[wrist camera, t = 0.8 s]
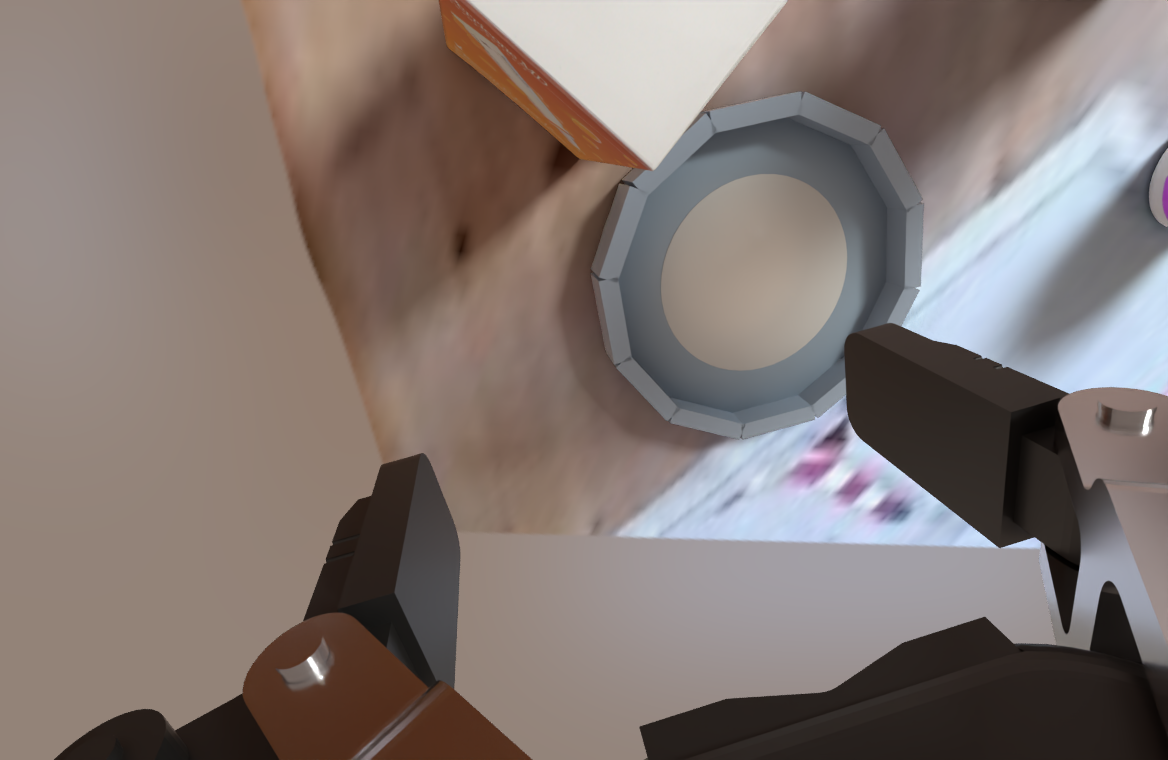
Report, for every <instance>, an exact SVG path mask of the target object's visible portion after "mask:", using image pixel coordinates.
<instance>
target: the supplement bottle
mask: <svg viewBox="0 0 1168 760" xmlns="http://www.w3.org/2000/svg"><path fill="white" fill-rule="evenodd" d="M1149 204H1150V208H1151V211H1152V213H1153V215H1154V217H1155V218H1156V219H1157V221H1158V222H1159V223H1161V224H1162V225H1164V226H1166V227H1168V148H1167V150H1166V151H1165V152H1164V154H1163V156H1162V157H1161V159H1160V160H1159V162H1158V164H1157V166H1156V168H1155V171H1154V173H1153V176H1152V179H1151V183H1150V188H1149Z"/></svg>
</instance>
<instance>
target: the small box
mask: <svg viewBox="0 0 1168 760" xmlns="http://www.w3.org/2000/svg"><path fill="white" fill-rule="evenodd" d="M787 1H788V0H439V4H440V11H441V16H442V23H443V29H444V33H445V40H446V45H447V47H448V48H449V49H450V50H451V51H453V52H454V53H455V54H457V55H458V56H459V57H460V58H462V59H463V60H464V61H466V62H467V63H468V64H469V65H471V66H472V67H473V68H474V69H476V70H477V71H478V72H479V73H480V74H482V75H483V76H484V77H485V78H486V79H488V80H489V81H490V82H491V83H492V84H493V85H495V86H496V87H497V88H498V89H499V90H500V91H502V92H503V93H504V94H505V95H506V96H508V97H509V98H510V99H511V100H512V101H514V102H515V103H516V104H517V105H518V106H519V107H521V108H522V109H523V110H524V111H525V112H526V113H528V114H529V115H530V116H531V117H532V118H533V119H534V120H536V121H537V122H538V123H539V124H540V125H541V126H542V127H544V128H545V129H546V130H547V131H548V132H549V133H550V134H552V135H553V136H554V137H555V138H556V139H557V140H558V141H559V142H561V143H562V144H563V145H564V146H565V147H566V148H567V149H569V150H570V151H571V152H572V153H573V154H574V155H575V156H576V157H578V158H579V159H583V160H590V161H596V162H601V163H608V164H614V165H620V166H626V167H632V168H638V169H644V170H650V171H654V170H655V169H656V168H657V167H658V166H659V164H660V163H661V162H662V160H663V159H664V158H665V157H666V155H667V154H668V153H669V151H670V150H671V149H672V148H673V146H674V145H675V144H676V143H677V141H678V140H679V139H680V137H681V136H682V135H683V134H684V132H685V131H686V130H687V129H688V127H689V126H690V125H691V123H692V122H693V121H694V120H695V118H696V117H697V116H698V115H699V113H700V112H701V111H702V109H703V108H704V107H705V106H706V104H707V103H708V102H709V101H710V99H711V98H712V97H713V95H714V94H715V93H716V92H717V90H718V89H719V88H720V87H721V85H722V84H723V83H724V81H725V80H726V79H727V78H728V76H729V75H730V74H731V72H732V71H733V70H734V69H735V67H736V66H737V65H738V64H739V62H740V61H741V60H742V58H743V57H744V56H745V55H746V53H747V52H748V51H749V50H750V48H751V47H752V46H753V44H754V43H755V42H756V41H757V39H758V38H759V37H760V36H761V34H762V33H763V32H764V31H765V29H766V28H767V27H768V25H769V24H770V23H771V22H772V20H773V19H774V18H775V17H776V15H777V14H778V13H779V12H780V10H781V9H782V8H783V6H784V5H785V4H786V3H787Z"/></svg>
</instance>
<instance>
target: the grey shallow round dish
mask: <svg viewBox="0 0 1168 760" xmlns="http://www.w3.org/2000/svg"><path fill="white" fill-rule="evenodd" d="M880 128H881V125H879V124H876V123H874V122H872V121H870V120H867V119H865V118H863V117H861V116H858V115H856V114H854V113H852V112H850V111H847V110H845V109H843V108H841V107H838V106H836V105H834V104H832V103H830V102H827V101H825V100H823V99H821V98H818V97H816V96H814V95H812V94H810V93H807V92H801V91H799V92H793V93H787V94H781V95H776V96H771V97H767V98H762V99H757V100H753V101H748V102H744V103H739V104H734V105H730V106H725V107H721V108H716V109H711V110H707V111H702V112H700V113H699V115H698V116H697V117H696V118H695V120H694V121H693V122H692V123H691V125H690V126H689V127H688V129H687V130H686V131H685V132H684V134H683V135H682V136H681V137H680V139H679V140H678V141H677V143H676V144H675V145H674V146H673V148H672V149H671V150H670V151H669V153H668V154H667V155H666V157H665V158H664V159H663V160H662V162H661V163H660V164H659V166H658V167H657V168H656V169H655V170H654V171H650V170H644V169H638V168H633V169H632V170H631V171H630V172H629V173H628V174H627V175H626V176H625V177H624V178H623V179H622V181H623V182H624V183H625V184H620V183H619V186H618V189H617V192H616V195H615V198H614V201H613V204H612V207H611V210H610V213H609V215H608V218H607V220H606V223H605V225H604V228H603V232H602V235H601V239H600V243H599V246H598V249H597V252H596V255H595V258H594V261H593V264H592V267H591V270H592V271H593V273H590V274H591V279H592V284H593V289H594V294H595V299H596V305H597V312H598V316H599V320H600V325H601V330H602V335H603V341H604V346H605V351H606V353H607V355H608V356H609V358H610V359H611V361H612V362H613V364H614V365H615V367H616V368H617V369H618V370H619V371H620V372H621V374H622V375H623V376H624V377H625V378H626V379H627V380H628V381H629V382H630V383H631V384H632V385H633V386H634V387H635V388H636V389H637V390H638V391H639V392H640V394H641V395H642V396H643V397H644V398H645V399H646V400H647V401H648V402H649V403H650V404H651V405H652V406H653V407H654V408H655V409H656V410H657V411H658V413H659V414H660V415H661V416H662V417H663V418H664V419H665V420H666V421H669V423H672V424H676V425H680V426H684V427H688V428H693V429H697V430H701V431H705V432H709V433H714V434H718V435H722V436H726V437H730V438H734V439H740V437H741V438H742V439H746V438H750V437H754V436H757V435H761V434H765V433H768V432H772V431H776V430H779V429H783V428H787V427H790V426H794V425H798V424H801V423H805V422H809V421H812V420H815V416H816V417H817V418H819V417H820V416H821V415H822V414H823V413H825V412H826V411H827V410H828V409H829V408H831V407H832V406H833V405H834V404H835V403H837V402H838V401H839V400H840V399H841V398H843V397H844V396H845V395H846V378H845V357H844V345H845V340H846V338H847V337H848V335H850V334H851V333H855V332H858V331H862V330H865V329H869V328H872V327H876V326H880V325H883V324H887V323H894V324H896V325H899V326H901V325H902V324H903V322H904V320H905V318H906V316H907V314H908V312H909V310H910V308H911V306H912V304H913V302H914V300H915V298H916V296H917V294H918V292H919V290H918V289H916V287H920V286H921V266H922V240H923V213H924V203H920V202H921V201H922V200H923V198H922V197H921V195H920V193H919V191H918V189H917V188H916V186H915V184H914V182H913V180H912V178H911V177H910V175H909V173H908V171H907V169H906V167H905V166H904V164H903V162H902V160H901V158H900V156H899V155H898V153H897V151H896V149H895V147H894V145H893V144H892V142H891V140H890V138H889V136H888V135H887V133H886V131H885V129H884V128H882V129H880Z"/></svg>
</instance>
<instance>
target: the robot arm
mask: <svg viewBox="0 0 1168 760" xmlns="http://www.w3.org/2000/svg"><path fill="white" fill-rule="evenodd" d="M844 357H845V378H846V400H847V412H848V417H849V420H850V423H851V425H852V427H853V429H854V431H855V432H856V434H857V435H858V436H859V437H860V439H862V440H863V441H864V442H865V443H866V444H868V445H869V446H870V447H872V448H873V449H874V450H875V451H877V452H878V453H879V454H880V455H882V456H883V457H884V458H886V459H887V460H888V461H889V462H891V463H892V464H893V465H894V466H896V467H897V468H898V469H900V470H901V471H902V472H903V473H905V474H906V475H907V476H908V477H910V478H911V479H912V480H914V481H915V482H916V483H917V484H919V485H920V486H921V487H922V488H924V489H925V490H926V491H928V492H929V493H930V494H931V495H933V496H934V497H935V498H936V499H938V500H939V501H940V502H942V503H943V504H944V505H945V506H947V507H948V508H949V509H950V510H952V511H953V512H954V513H956V514H957V515H958V516H959V517H961V518H962V519H963V520H964V521H966V522H967V523H968V524H969V525H971V526H972V527H973V528H975V529H976V530H977V531H978V532H980V533H981V534H982V535H983V536H985V537H986V538H987V539H989V540H990V541H991V542H992V543H994V544H995V545H996V546H997V547H999V548H1001V547H1005V546H1008V545H1011V544H1014V543H1017V542H1021V541H1024V540H1027V539H1030V538H1034V537H1035V538H1037V539H1038V540H1039V541H1041V548H1040V557H1039V561H1040V568H1041V573H1042V578H1043V583H1044V588H1045V592H1046V597H1047V602H1048V607H1049V612H1050V617H1051V622H1052V627H1053V632H1054V637H1055V641H1056V645H1049V644H1013V643H1012V642H1011V641H1010V640H1009V639H1008V638H1007V637H1006V636H1005V635H1004V634H1003V633H1002V632H1001V631H999V630H998V629H997V628H996V627H995V626H994V625H993V624H992V623H991V622H990V621H989V620H988V619H987V618H986V617H983V618H979V619H976V620H973V621H970V622H967V623H964V624H961V625H957V626H954V627H951V628H948V629H945V630H942V631H939V632H935V633H932V634H929V635H926V636H923V637H920V638H917V639H913V640H911V641H907V642H904V643H902V644H900V645H899V646H897V647H896V648H894V649H893V650H891V651H890V652H888V653H887V654H885V655H884V656H882V657H881V658H879V659H878V660H876V661H875V662H873V663H872V664H870V665H869V666H867V667H866V668H865V669H863V670H862V671H860V672H859V673H857V674H856V675H854V676H853V677H851V678H850V679H848V680H847V681H845V682H844V683H842V684H841V685H839V686H838V687H836V688H834V689H832V690H830V691H827V692H822V693H811V694H796V695H779V696H764V697H748V698H733V699H725V700H722V701H719V702H715V703H712V704H709V705H706V706H703V707H700V708H696V709H693V710H690V711H687V712H685V713H681V714H678V715H675V716H671V717H668V718H665V719H662V720H659V721H656V722H653V723H649V724H646V725H643V726H640V731H641V735H642V738H643V742H644V746H645V749H646V753H647V757H648V758H646V759H645V760H1168V396H1165V395H1162V394H1158V393H1154V392H1150V391H1144V390H1138V389H1130V388H1115V387H1105V388H1091V389H1085V390H1080V391H1076V392H1073V393H1071V394H1069V393H1066V392H1064V391H1062V390H1059V389H1057V388H1055V387H1052V386H1050V385H1048V384H1045V383H1043V382H1041V381H1038V380H1036V379H1034V378H1032V377H1029V376H1027V375H1025V374H1022V373H1020V372H1018V371H1015V370H1013V369H1011V368H1008V367H1006V368H1003V367H1002V365H1001V364H999V363H997V362H994V361H992V360H990V359H987V358H985V359H982V357H981V355H978V354H976V353H974V352H971V351H969V350H967V349H964V348H962V347H960V346H957V345H953V344H948V343H942V342H937V341H932V340H930V339H928V338H926V337H923V336H921V335H919V334H917V333H914V332H912V331H910V330H908V329H905V328H903V327H901V326H899V325H896V324H894V323H887V324H883V325H880V326H876V327H872V328H869V329H865V330H862V331H858V332H855V333H851V334H850V335H848V337H847V338H846V340H845V345H844ZM332 543H333V545H332V546H330V549H329V552H328V554H327V557H326V564H324V565H323V568H322V571H321V574H320V576H319V579H318V582H317V585H316V587H315V590H314V593H313V596H312V598H311V601H310V604H309V607H308V609H307V612H306V615H305V617H304V620H303V622H301V623H299V624H297V625H295V626H294V627H292V628H290V629H289V630H287V631H286V632H284V633H283V634H281V635H280V636H279V637H278V638H276V639H275V640H274V641H273V642H272V643H271V644H270V645H268V646H267V647H266V648H265V650H264V651H263V652H262V653H261V654H260V655H259V656H258V658H257V659H256V660H255V662H254V663H253V664H252V666H251V668H250V669H249V671H248V673H247V675H246V678H245V680H244V685H243V693H242V694H241V695H239V696H237V697H236V698H234V699H232V700H230V701H228V702H227V703H225V704H223V705H221V706H219V707H217V708H216V709H214V710H212V711H210V712H208V713H206V714H204V715H203V716H201V717H199V718H197V719H195V720H193V721H192V722H190V723H188V724H186V725H185V726H182V727H181V728H179V729H177V730H174V729H173V728H172V727H171V725H170V724H169V723H168V721H167V720H166V719H165V718H164V716H163V715H162V714H161V713H159V712H158V711H155V710H152V709H141V710H135V711H131V712H128V713H124V714H122V715H120V716H117V717H115V718H113V719H110V720H108V721H106V722H104V723H102V724H101V725H100V726H97V727H96V728H94V729H92V730H91V731H89V732H88V733H86V734H85V735H83V736H82V737H81V738H79V739H78V740H76V741H75V742H74V743H73V744H71V745H70V746H69V747H68V748H66V749H65V750H64V751H63V752H62V753H61V754H60V755H58V756H57V757H56V758H55V759H54V760H532V759H531V758H530V757H529V756H528V755H527V754H526V753H525V752H523V751H522V750H521V749H520V748H519V747H518V746H517V745H516V744H515V743H513V742H512V741H511V740H510V739H509V738H508V737H507V736H505V734H503V733H502V732H501V731H500V730H499V729H498V728H496V726H494V725H493V724H492V723H491V722H490V721H489V720H488V719H487V718H486V717H484V716H483V715H482V714H481V713H480V712H479V711H478V710H477V709H476V708H474V707H473V706H472V705H471V704H470V703H469V702H468V701H467V700H465V699H464V698H463V697H462V696H461V695H460V694H459V693H458V692H457V691H455V690H454V683H455V661H456V639H457V618H458V617H457V616H458V594H459V573H460V546H459V540H458V535H457V531H456V528H455V524H454V522H453V519H452V516H451V514H450V511H449V509H448V506H447V504H446V501H445V499H444V496H443V494H442V491H441V489H440V486H439V483H438V481H437V478H436V476H435V473H434V471H433V468H432V466H431V463H430V461H429V459H428V458H427V456H426V455H425V454H424V453H421V454H418V455H414V456H411V457H407V458H404V459H400V460H397V461H393V462H389V463H386V464H383V465H381V467H380V470H379V473H378V476H377V480H376V483H375V487H374V490H373V493H372V496H369V497H366V498H362V499H359V500H358V501H357V502H356V503H355V504H354V505H353V506H352V507H351V508H350V510H349V511H348V512H347V513H346V514H345V516H344V517H343V518H342V519H341V520H340V522H339V524H338V527H337V530H336V533H335V535H334V538H333V541H332Z"/></svg>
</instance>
